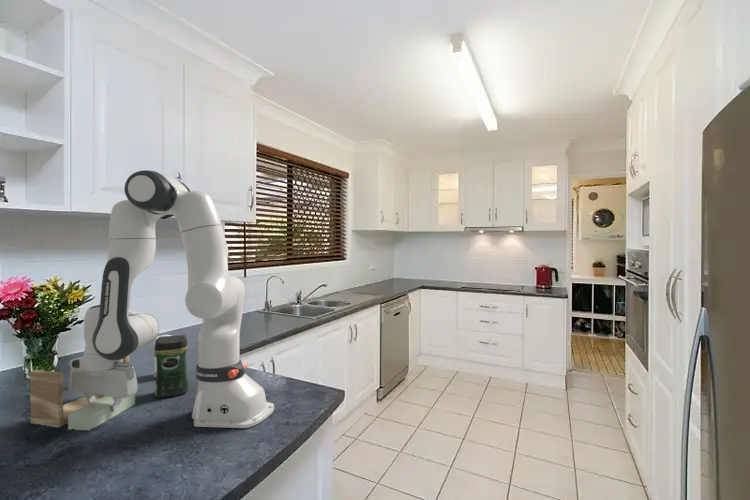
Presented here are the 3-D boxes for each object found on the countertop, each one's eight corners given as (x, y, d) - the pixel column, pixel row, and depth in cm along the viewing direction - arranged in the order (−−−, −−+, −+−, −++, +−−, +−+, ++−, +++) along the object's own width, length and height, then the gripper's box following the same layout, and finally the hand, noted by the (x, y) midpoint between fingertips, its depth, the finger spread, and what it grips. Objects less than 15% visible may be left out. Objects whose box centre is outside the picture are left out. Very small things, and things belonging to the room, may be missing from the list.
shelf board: (116, 403, 112) (116, 390, 112) (135, 404, 112) (134, 391, 112) (68, 429, 96) (68, 414, 96) (89, 430, 96) (89, 415, 96)
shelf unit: (105, 393, 120) (104, 350, 120) (129, 396, 117) (129, 352, 117) (30, 423, 100) (30, 371, 100) (58, 427, 97) (57, 374, 97)
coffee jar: (189, 386, 126) (189, 332, 125) (187, 395, 118) (187, 337, 118) (156, 391, 122) (156, 334, 121) (152, 400, 114) (152, 340, 114)
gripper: (143, 359, 104) (143, 408, 104) (87, 354, 109) (87, 401, 110) (122, 366, 98) (123, 418, 98) (64, 361, 103) (65, 410, 103)
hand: (104, 409), depth 104 cm, fingers closed on shelf board, 6 cm apart
